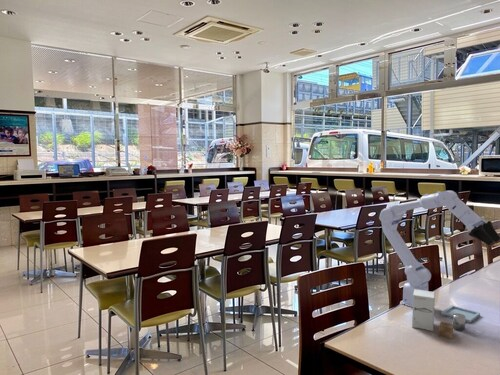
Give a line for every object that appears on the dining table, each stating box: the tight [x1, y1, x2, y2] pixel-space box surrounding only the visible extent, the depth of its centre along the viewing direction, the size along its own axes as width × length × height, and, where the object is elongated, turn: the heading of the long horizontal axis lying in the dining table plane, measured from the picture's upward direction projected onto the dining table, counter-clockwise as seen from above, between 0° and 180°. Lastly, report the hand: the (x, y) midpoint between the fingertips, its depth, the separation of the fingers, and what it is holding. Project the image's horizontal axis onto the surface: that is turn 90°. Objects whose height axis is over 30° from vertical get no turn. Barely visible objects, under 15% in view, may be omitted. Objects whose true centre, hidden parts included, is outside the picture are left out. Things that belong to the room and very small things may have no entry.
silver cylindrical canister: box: [452, 313, 466, 332], centre depth 139 cm, size 4×4×5 cm
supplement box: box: [411, 289, 436, 332], centre depth 142 cm, size 7×7×13 cm
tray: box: [440, 304, 481, 324], centre depth 151 cm, size 11×11×1 cm
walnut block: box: [438, 321, 454, 340], centre depth 134 cm, size 4×4×4 cm
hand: (495, 242), depth 138 cm, fingers open, 7 cm apart
